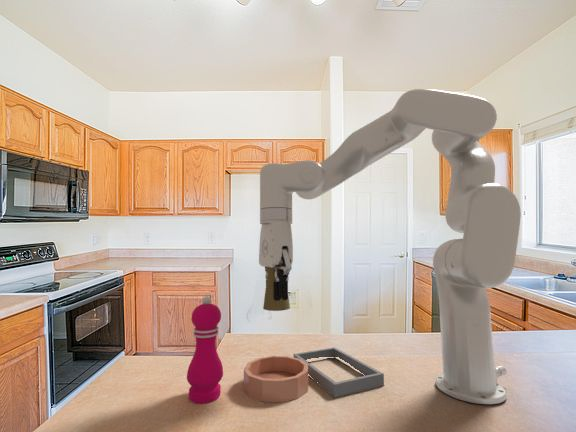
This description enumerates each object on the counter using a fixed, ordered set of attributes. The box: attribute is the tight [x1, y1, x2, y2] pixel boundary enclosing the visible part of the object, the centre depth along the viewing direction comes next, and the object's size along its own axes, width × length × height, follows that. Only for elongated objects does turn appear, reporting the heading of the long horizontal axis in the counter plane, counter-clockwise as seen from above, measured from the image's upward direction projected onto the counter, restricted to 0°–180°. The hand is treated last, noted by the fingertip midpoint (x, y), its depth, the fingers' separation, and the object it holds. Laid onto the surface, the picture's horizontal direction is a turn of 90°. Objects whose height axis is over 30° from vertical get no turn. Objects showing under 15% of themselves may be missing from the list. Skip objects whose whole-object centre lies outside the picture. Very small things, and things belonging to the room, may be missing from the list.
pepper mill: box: [186, 295, 224, 405], centre depth 62 cm, size 7×7×20 cm
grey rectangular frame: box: [292, 346, 385, 398], centre depth 72 cm, size 13×20×2 cm, turn 24°
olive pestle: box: [263, 264, 291, 312], centre depth 68 cm, size 6×6×11 cm
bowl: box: [243, 355, 309, 403], centre depth 66 cm, size 14×14×4 cm
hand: (276, 297), depth 68 cm, fingers closed on olive pestle, 4 cm apart
